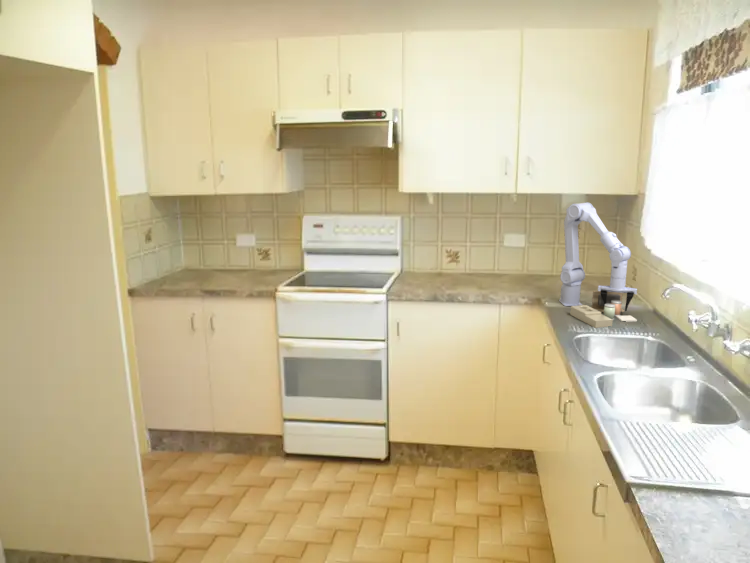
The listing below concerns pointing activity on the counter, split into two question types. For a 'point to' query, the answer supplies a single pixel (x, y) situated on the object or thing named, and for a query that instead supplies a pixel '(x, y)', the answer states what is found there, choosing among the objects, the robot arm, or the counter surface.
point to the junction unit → (598, 301)
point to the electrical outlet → (590, 316)
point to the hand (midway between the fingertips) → (615, 309)
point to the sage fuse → (609, 310)
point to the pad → (626, 318)
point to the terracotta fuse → (617, 307)
